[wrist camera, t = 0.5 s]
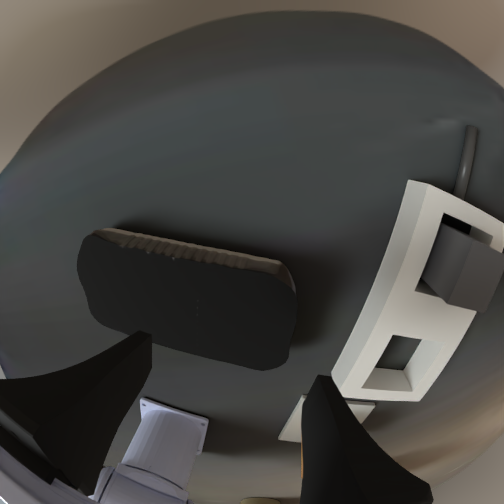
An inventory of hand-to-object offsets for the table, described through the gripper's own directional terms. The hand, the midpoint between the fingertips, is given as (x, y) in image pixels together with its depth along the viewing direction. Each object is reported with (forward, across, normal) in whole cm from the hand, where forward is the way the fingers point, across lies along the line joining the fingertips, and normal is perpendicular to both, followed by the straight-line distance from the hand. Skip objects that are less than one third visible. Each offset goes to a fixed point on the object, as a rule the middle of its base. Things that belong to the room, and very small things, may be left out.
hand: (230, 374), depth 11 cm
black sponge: (+10, +5, +2) cm, 12 cm away
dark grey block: (+10, -13, -6) cm, 18 cm away
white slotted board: (+10, -13, -4) cm, 17 cm away
